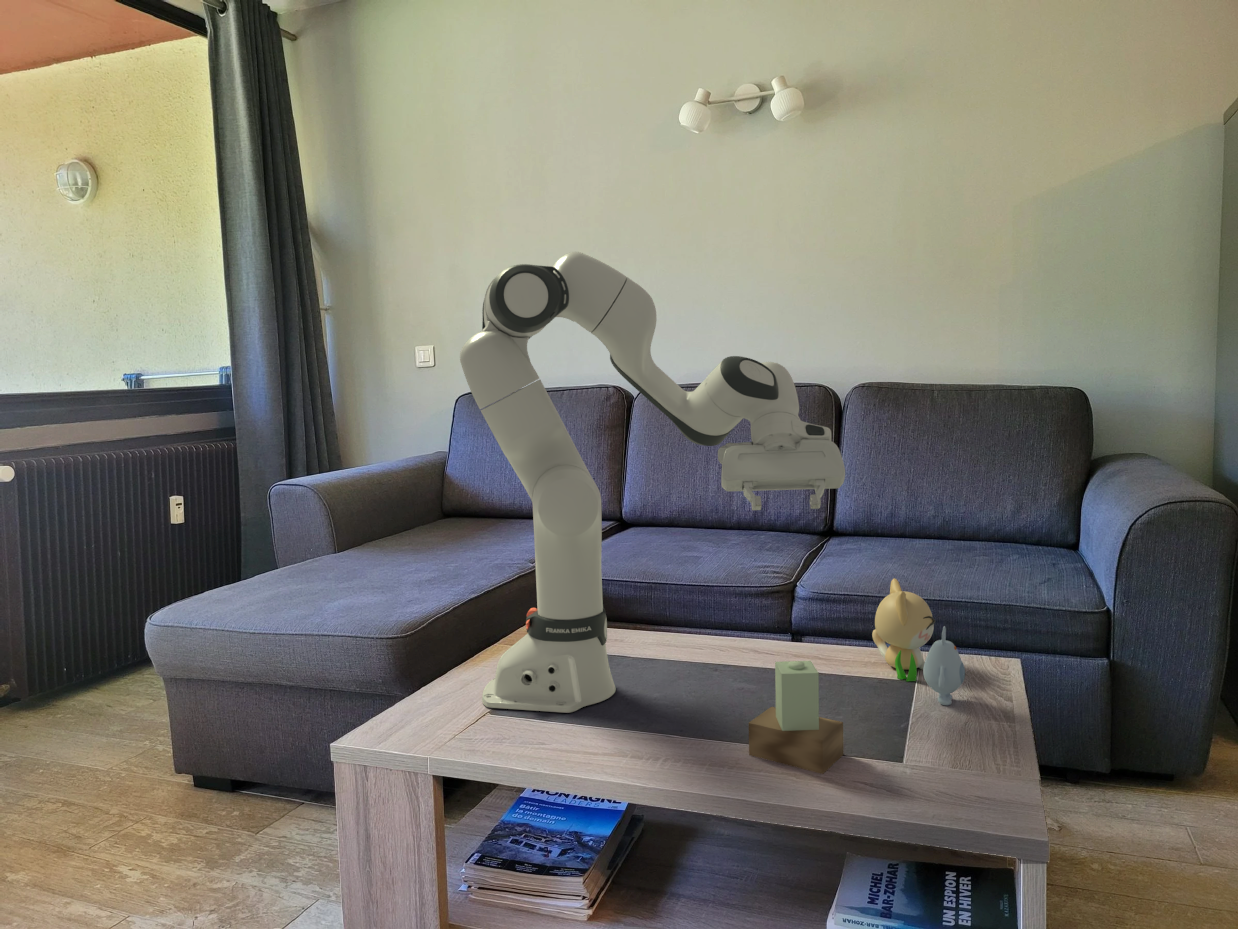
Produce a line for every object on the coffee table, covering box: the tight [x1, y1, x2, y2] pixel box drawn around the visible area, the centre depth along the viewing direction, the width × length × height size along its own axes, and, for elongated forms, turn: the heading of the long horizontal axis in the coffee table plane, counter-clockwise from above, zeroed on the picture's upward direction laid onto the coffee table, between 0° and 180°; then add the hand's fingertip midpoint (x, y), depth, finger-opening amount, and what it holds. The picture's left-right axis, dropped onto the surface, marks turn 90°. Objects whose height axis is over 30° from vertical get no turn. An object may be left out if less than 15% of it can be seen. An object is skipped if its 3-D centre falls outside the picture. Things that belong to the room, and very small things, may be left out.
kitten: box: [871, 577, 936, 682], centre depth 156 cm, size 15×10×15 cm
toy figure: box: [922, 625, 966, 706], centre depth 140 cm, size 11×6×12 cm, turn 156°
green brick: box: [774, 660, 820, 731], centre depth 122 cm, size 5×5×8 cm
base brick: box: [748, 706, 844, 775], centre depth 123 cm, size 11×7×5 cm, turn 54°
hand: (786, 507), depth 142 cm, fingers open, 8 cm apart
